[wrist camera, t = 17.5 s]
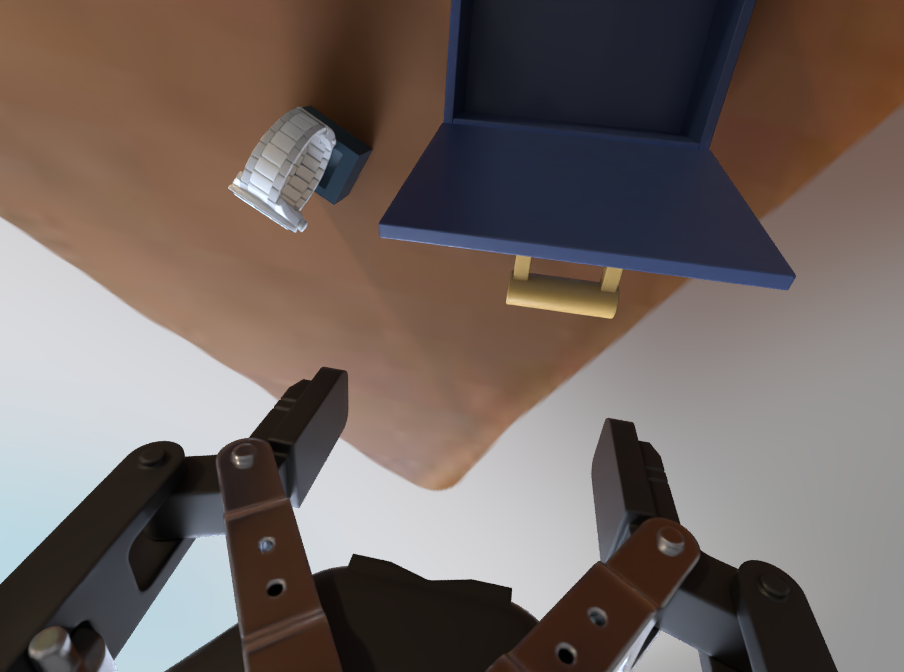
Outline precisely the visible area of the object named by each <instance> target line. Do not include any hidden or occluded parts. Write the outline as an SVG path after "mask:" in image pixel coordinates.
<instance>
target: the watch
mask: <svg viewBox="0 0 904 672" xmlns="http://www.w3.org/2000/svg"><path fill="white" fill-rule="evenodd" d="M261 142H262V143H263V144H262V143H261ZM271 143H272V144H271ZM264 144H265V145H266V146H265V145H264ZM274 145H275V146H274ZM371 151H372V149H371V148H370V147H368V146H367V145H366V144H364V143H363V142H361V141H360V140H359V139H357V138H356V137H354V136H353V135H352V134H350V133H349V132H347V131H346V130H344V129H343V128H342V127H340V126H339V125H337V124H336V123H335V122H333V121H332V120H330V119H329V118H327V117H326V116H325V115H323V114H322V113H320V112H319V111H318V110H316V109H315V108H313V107H312V106H306V107H300V106H299V107H297V108H296V109H292V110H291V111H289V112H287V113H286V114H285V115H283V116H282V117H281V118H280V120H277V121H276V122H275V123H274V124H273V125H272V127H271V128H270V130H268V131H267V132H266V133H265V134H264V136H263V137H262V138H261V140H260V142H259V143H258V144H257V146H256V147H255V149H254V151H253V152H252V155H251V156H250V158H249V160H248V162H247V164H246V166H245V170H244V172H243V173H242V172H241V171H240V172H239V173H238V175H237V176H236V178H235V180H234V181H233V183H232V185H229V187H228V189H229V190H230V191H231V192H232V193H233V194H235V195H236V196H237V197H239V198H240V199H242V200H243V201H245V202H246V203H248V204H249V205H251V206H252V207H254V208H255V209H257V210H258V211H260V212H261V213H263V214H264V215H266V216H267V217H269V218H270V219H272V220H273V221H275V222H277V223H278V224H280V225H281V226H283V227H284V228H286V229H288V230H290V231H292V232H295V233H296V231H297V229H298V230H300V231H301V232H303V231H304V230H305V228H306V227H307V225H308V222H307V221H305V220H304V219H303V215H302V214H301V212H300V210H301V209H302V208H303V206H304V205H305V203H306V202H307V201H308V200H309V198H310V197H311V195H312V193H313V192H316V193H317V194H319V195H320V196H322V197H323V198H325V199H326V200H328V201H329V202H331V203H332V204H336V203H337V202H339V201H340V200H342V199H343V198H345V197H346V196H348V194H349V192H350V191H351V189H352V187H353V185H354V183H355V181H356V179H357V177H358V175H359V174H360V172H361V170H362V168H363V166H364V164H365V162H366V160H367V159H368V157H369V155H370V153H371ZM262 156H263V157H262ZM264 157H265V158H266V159H265V158H264ZM267 159H268V160H269V161H268V160H267ZM271 162H272V163H271ZM274 164H275V165H274ZM277 166H278V167H277ZM280 168H281V169H280ZM288 175H289V176H288ZM291 177H292V178H291ZM309 189H310V190H309ZM296 190H297V191H296ZM312 191H313V192H312ZM299 192H300V193H299ZM302 194H303V195H302ZM296 228H297V229H296Z"/></svg>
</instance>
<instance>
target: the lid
mask: <svg viewBox="0 0 904 672" xmlns="http://www.w3.org/2000/svg"><path fill="white" fill-rule="evenodd" d="M379 236H380V237H381V238H389V239H396V240H404V241H412V242H419V243H427V244H435V245H442V246H450V247H458V248H465V249H473V250H481V251H489V252H496V253H504V254H512V255H516V261H515V267H514V271H511V272H510V279H509V286H508V292H507V299H506V304H511V305H518V306H525V307H532V308H539V309H546V310H553V311H560V312H568V313H575V314H582V315H589V316H596V317H603V318H610V319H611V318H613V317H614V315H615V313H616V310H617V306H618V300H619V286H618V284H619V281H620V278H621V275H622V272H623V269H627V270H635V271H642V272H650V273H658V274H666V275H673V276H681V277H689V278H696V279H704V280H712V281H720V282H727V283H735V284H742V285H750V286H758V287H766V288H773V289H781V290H788V289H789V288H790V286H791V284H792V283H793V281H794V279H795V278H796V275H795V273H794V272H793V270H792V269H791V267H790V266H789V265H788V263H787V262H786V260H785V259H784V257H783V256H782V254H781V253H780V251H779V250H778V248H777V247H776V246H775V244H774V243H773V241H772V240H771V238H770V237H769V235H768V234H767V232H766V231H765V229H764V228H763V227H762V225H761V224H760V222H759V221H758V219H757V218H756V216H755V215H754V213H753V212H752V210H751V209H750V207H749V206H748V205H747V203H746V202H745V200H744V199H743V197H742V196H741V194H740V193H739V191H738V190H737V188H736V187H735V185H734V184H733V183H732V181H731V180H730V178H729V177H728V175H727V174H726V172H725V171H724V169H723V168H722V166H721V165H720V164H719V162H718V161H717V159H716V158H715V156H714V155H713V153H712V152H711V151H710V150H700V149H691V148H681V147H671V146H662V145H652V144H642V143H633V142H623V141H614V140H604V139H594V138H585V137H575V136H566V135H556V134H546V133H537V132H527V131H518V130H508V129H498V128H489V127H479V126H469V125H460V124H450V123H442V124H441V126H440V128H439V129H438V131H437V132H436V134H435V135H434V137H433V139H432V140H431V142H430V143H429V145H428V146H427V148H426V150H425V151H424V153H423V154H422V156H421V157H420V159H419V161H418V162H417V164H416V165H415V167H414V168H413V170H412V172H411V173H410V175H409V176H408V178H407V179H406V181H405V183H404V184H403V186H402V187H401V189H400V190H399V192H398V194H397V195H396V197H395V198H394V200H393V201H392V203H391V205H390V206H389V208H388V209H387V211H386V212H385V214H384V216H383V217H382V219H381V220H380V222H379ZM532 257H535V258H542V259H550V260H558V261H566V262H573V263H581V264H589V265H596V266H604V270H603V273H602V277H601V280H600V282H593V281H586V280H578V279H571V278H563V277H556V276H548V275H541V274H533V273H529V272H530V266H531V260H532Z"/></svg>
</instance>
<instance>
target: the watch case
mask: <svg viewBox="0 0 904 672" xmlns="http://www.w3.org/2000/svg"><path fill="white" fill-rule="evenodd" d="M755 2H756V0H451V14H450V30H449V46H448V62H447V77H446V93H445V109H444V123H450V124H460V125H469V126H479V127H489V128H498V129H508V130H518V131H527V132H537V133H546V134H556V135H566V136H575V137H585V138H594V139H604V140H614V141H623V142H633V143H642V144H652V145H662V146H671V147H681V148H691V149H700V150H708V149H709V146H710V143H711V140H712V137H713V134H714V131H715V127H716V124H717V121H718V118H719V115H720V112H721V109H722V106H723V102H724V99H725V96H726V93H727V90H728V87H729V84H730V81H731V77H732V74H733V71H734V68H735V65H736V62H737V59H738V56H739V52H740V49H741V46H742V43H743V40H744V37H745V34H746V31H747V27H748V24H749V21H750V18H751V15H752V12H753V9H754V6H755Z"/></svg>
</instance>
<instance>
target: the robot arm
mask: <svg viewBox="0 0 904 672" xmlns="http://www.w3.org/2000/svg"><path fill="white" fill-rule="evenodd" d="M347 417H348V374H347V371H345V370H339V369H334V368H328V367H322V368H321V369H320V370H319V371H318V373H317V374H316V375H315V377H314V378H313V379H312V380H311V381H310V380H305V379H303V380H301V381H300V382H298V383H296V384H294V385H293V386H291V387H289V389H288V390H287V391H286V392H285V394H284V395H283V396H282V397H281V400H279V401H278V402H277V404H276V405H275V406H274V409H272V410H271V411H270V412H269V413H268V415H267V416H266V417H265V418H264V420H263V421H262V422H261V423H260V424H259V426H258V427H257V428H256V430H255V431H254V432H253V433H252V434H251V436H250V437H249V438H244V439H240V440H236V441H234V442H231V443H229V444H228V445H226V446H225V447H223V448H222V449H221V450H220V452H219V453H218V455H209V456H208V455H207V456H189V457H185V454H184V450H183V448H182V447H181V446H180V445H179V444H177V443H174V442H170V441H158V442H153V443H149V444H146V445H143V446H141V447H139V448H137V449H135V450H134V451H132V452H131V453H130V454H129V455H128V456H127V457H126V458H125V459H124V460H123V461H122V462H121V463H120V464H119V465H118V466H117V467H116V468H115V469H114V470H113V471H112V472H111V473H110V474H109V475H108V476H107V477H106V478H105V479H104V480H103V481H102V482H101V483H100V484H99V485H98V486H97V487H96V488H95V489H94V490H93V491H92V492H91V493H90V494H89V495H88V496H87V497H86V498H85V499H84V500H83V501H82V502H81V503H80V504H79V505H78V506H77V507H76V508H75V509H74V510H73V511H72V512H71V513H70V514H69V516H67V517H66V519H64V520H63V522H61V523H60V524H59V525H58V527H57V528H56V529H55V530H54V531H53V532H52V533H51V534H50V535H49V536H48V537H47V538H46V539H45V540H44V541H43V542H42V543H41V544H40V545H39V546H38V547H37V548H36V549H35V550H34V551H33V552H32V553H31V554H30V555H29V556H28V557H27V558H26V559H25V560H24V561H23V562H22V563H21V564H20V565H19V566H18V567H17V568H16V569H15V570H14V571H13V572H12V573H11V574H10V575H9V576H8V577H7V578H6V579H5V580H4V581H3V582H2V583H1V584H0V672H118V671H117V668H116V666H115V664H114V659H115V658H116V656H117V655H118V653H119V652H120V651H121V649H122V648H123V646H124V644H125V643H126V642H127V640H128V639H129V637H130V636H131V634H132V633H133V631H134V630H135V628H136V627H137V625H138V623H139V622H140V621H141V619H142V618H143V616H144V615H145V613H146V612H147V610H148V609H149V607H150V605H151V604H152V603H153V601H154V600H155V598H156V597H157V595H158V594H159V592H160V591H161V589H162V588H163V586H164V585H165V583H166V582H167V580H168V578H169V577H170V576H171V574H172V573H173V571H174V570H175V569H176V567H177V566H178V564H179V563H180V561H181V560H182V558H183V557H184V555H185V554H186V552H187V550H188V549H189V548H190V546H191V545H192V543H193V542H194V540H195V539H196V537H207V536H219V535H226V541H227V548H228V555H229V562H230V568H231V575H232V582H233V588H234V596H235V603H236V609H237V616H238V623H237V624H235V625H234V626H232V627H231V628H229V629H228V630H226V631H225V632H223V633H222V634H220V635H219V636H217V637H216V638H215V639H213V640H211V641H210V642H208V643H207V644H205V645H204V646H202V647H201V648H199V649H198V650H196V651H195V652H193V653H192V654H190V655H189V656H187V657H186V658H184V659H183V660H181V661H180V662H179V663H177V664H175V665H174V666H172V667H171V668H169V669H168V670H166V671H165V672H632V671H633V670H634V668H635V667H636V665H637V664H638V663H639V661H640V660H641V658H642V657H643V655H644V654H645V653H646V651H647V650H648V648H649V647H650V646H651V644H652V643H653V641H654V640H655V638H656V637H657V636H658V634H659V633H660V631H661V630H662V631H664V632H666V633H668V634H670V635H671V636H673V637H675V638H677V639H679V640H681V641H683V642H685V643H687V644H688V645H690V646H692V647H694V648H696V649H698V652H699V657H700V662H701V666H702V671H703V672H838V671H837V668H836V666H835V664H834V661H833V659H832V657H831V654H830V652H829V650H828V647H827V645H826V643H825V640H824V638H823V636H822V634H821V631H820V629H819V626H818V624H817V622H816V619H815V617H814V615H813V612H812V610H811V608H810V606H809V603H808V601H807V599H806V596H805V594H804V592H803V590H802V589H801V588H800V586H799V585H798V584H797V583H796V582H795V580H793V579H792V578H791V577H790V576H789V575H788V574H787V573H785V572H784V571H782V570H781V569H779V568H777V567H776V566H774V565H771V564H769V563H766V562H763V561H758V560H750V561H746V562H744V563H743V564H741V566H740V567H739V569H737V568H735V567H732V566H730V565H728V564H726V563H724V562H721V561H719V560H717V559H715V558H713V557H711V556H709V555H707V554H706V553H704V552H702V551H701V550H700V547H699V544H698V542H697V540H696V539H695V537H694V536H693V535H692V534H691V533H690V532H689V531H688V530H687V529H686V528H684V527H683V526H682V525H680V521H679V518H678V514H677V511H676V508H675V504H674V501H673V497H672V494H671V490H670V488H669V484H668V480H667V477H666V473H664V467H663V463H662V460H661V456H660V455H659V454H658V453H657V451H656V450H655V449H654V448H653V446H652V445H651V444H650V443H649V442H643V441H638V437H637V433H636V429H635V425H634V423H633V422H628V421H622V420H617V419H611V418H607V419H606V420H605V422H604V426H603V429H602V432H601V435H600V439H599V442H598V445H597V448H596V451H595V454H594V458H593V462H592V485H593V495H594V503H595V513H596V522H597V532H598V540H599V550H600V558H601V561H598V562H597V563H596V564H594V565H593V566H592V568H590V569H589V571H588V572H587V573H586V574H585V575H584V576H583V577H582V578H581V579H580V580H579V581H578V582H577V583H576V584H575V585H574V586H573V587H572V588H571V589H570V590H569V591H568V592H567V594H565V595H564V596H563V598H562V599H561V600H560V601H559V602H558V603H557V604H556V605H555V606H554V607H553V608H552V609H551V610H550V611H549V612H548V613H547V614H546V615H545V616H544V617H543V618H542V619H541V620H540V621H538V620H537V619H536V618H535V617H534V616H533V615H531V614H530V613H529V612H528V611H526V610H525V609H523V608H522V607H520V606H519V605H517V604H515V603H513V602H511V595H512V588H509V587H504V586H500V585H495V584H491V583H486V582H481V581H477V580H472V579H469V580H427V579H424V578H423V577H421V576H419V575H417V574H415V573H412V572H411V571H408V570H406V569H404V568H402V567H400V566H398V565H396V564H394V563H392V562H389V561H385V560H380V559H375V558H371V557H366V556H361V555H357V554H353V555H352V558H351V560H350V563H349V565H348V566H342V567H336V568H331V569H327V570H323V571H320V572H318V573H315V574H313V575H312V573H311V570H310V566H309V563H308V560H307V557H306V553H305V549H304V546H303V543H302V539H301V536H300V532H299V529H298V525H297V522H296V519H295V516H294V512H293V509H292V507H296V508H299V507H300V506H301V504H302V502H303V500H304V498H305V497H306V495H307V493H308V491H309V490H310V488H311V486H312V484H313V483H314V481H315V479H316V477H317V475H318V474H319V472H320V470H321V468H322V467H323V465H324V463H325V461H326V460H327V458H328V456H329V454H330V452H331V450H332V449H333V447H334V445H335V444H336V442H337V440H338V438H339V437H340V435H341V433H342V431H343V429H344V427H345V425H346V421H347Z"/></svg>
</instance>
